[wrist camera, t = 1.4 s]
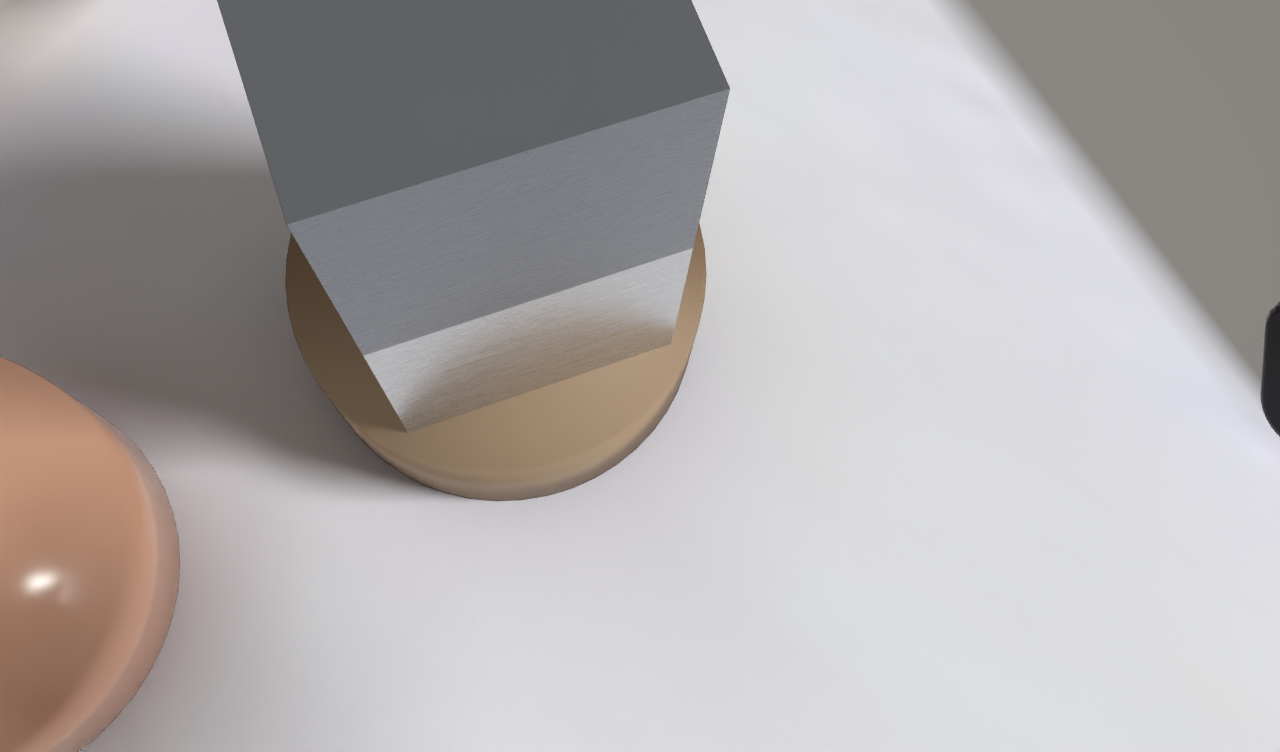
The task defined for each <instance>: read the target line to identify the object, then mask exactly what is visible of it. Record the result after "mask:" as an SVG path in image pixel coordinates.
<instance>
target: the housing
mask: <svg viewBox="0 0 1280 752" xmlns="http://www.w3.org/2000/svg"><path fill="white" fill-rule="evenodd" d="M217 1H218V5H219V8H220V11H221V14H222V17H223V21H224V24H225V27H226V30H227V34H228V37H229V40H230V43H231V46H232V50H233V53H234V56H235V59H236V63H237V66H238V69H239V72H240V75H241V79H242V82H243V85H244V88H245V92H246V95H247V98H248V101H249V104H250V108H251V111H252V114H253V117H254V120H255V124H256V127H257V130H258V133H259V137H260V140H261V143H262V146H263V149H264V153H265V156H266V159H267V162H268V166H269V169H270V172H271V175H272V178H273V182H274V185H275V188H276V191H277V195H278V198H279V201H280V204H281V207H282V211H283V214H284V217H285V220H286V224H287V226H288V227H289V229H290V231H291V233H292V234H293V236H294V238H295V240H296V241H297V243H298V245H299V246H300V248H301V250H302V252H303V253H304V255H305V257H306V258H307V260H308V262H309V264H310V265H311V267H312V269H313V270H314V272H315V274H316V276H317V277H318V279H319V281H320V282H321V284H322V286H323V288H324V289H325V291H326V293H327V294H328V296H329V298H330V300H331V301H332V303H333V305H334V306H335V308H336V310H337V312H338V313H339V315H340V317H341V319H342V320H343V322H344V324H345V325H346V327H347V329H348V331H349V332H350V334H351V336H352V337H353V339H354V341H355V343H356V344H357V346H358V348H359V349H360V351H361V353H362V355H363V356H364V358H365V360H366V361H367V363H368V365H369V367H370V368H371V370H372V372H373V373H374V375H375V377H376V379H377V380H378V382H379V384H380V385H381V387H382V389H383V391H384V392H385V394H386V396H387V398H388V399H389V401H390V403H391V404H392V406H393V408H394V410H395V411H396V413H397V415H398V416H399V418H400V420H401V422H402V423H403V425H404V427H405V428H406V430H407V432H408V433H409V432H412V431H415V430H418V429H421V428H424V427H427V426H430V425H433V424H436V423H439V422H442V421H445V420H448V419H451V418H454V417H457V416H460V415H463V414H465V413H468V412H471V411H474V410H477V409H480V408H483V407H486V406H489V405H492V404H495V403H498V402H501V401H504V400H507V399H510V398H513V397H516V396H519V395H522V394H525V393H527V392H530V391H533V390H536V389H539V388H542V387H545V386H548V385H551V384H554V383H557V382H560V381H563V380H566V379H569V378H572V377H575V376H578V375H581V374H584V373H587V372H590V371H592V370H595V369H598V368H601V367H604V366H607V365H610V364H613V363H616V362H619V361H622V360H625V359H628V358H631V357H634V356H637V355H640V354H643V353H646V352H649V351H652V350H654V349H657V348H660V347H663V346H666V345H669V344H671V342H672V337H673V333H674V329H675V324H676V320H677V316H678V311H679V307H680V303H681V298H682V294H683V290H684V285H685V281H686V277H687V272H688V268H689V264H690V259H691V255H692V251H693V246H694V242H695V238H696V233H697V229H698V225H699V220H700V216H701V212H702V207H703V203H704V199H705V194H706V190H707V186H708V181H709V177H710V173H711V168H712V164H713V160H714V155H715V151H716V147H717V143H718V138H719V134H720V130H721V125H722V121H723V117H724V112H725V108H726V104H727V99H728V95H729V91H730V87H729V85H728V83H727V81H726V78H725V76H724V74H723V72H722V69H721V67H720V65H719V62H718V60H717V58H716V56H715V53H714V51H713V49H712V46H711V44H710V42H709V40H708V37H707V35H706V33H705V30H704V28H703V26H702V24H701V21H700V19H699V17H698V15H697V12H696V10H695V8H694V5H693V3H692V1H691V0H217Z"/></svg>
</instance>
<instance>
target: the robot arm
mask: <svg viewBox="0 0 1280 752" xmlns="http://www.w3.org/2000/svg"><path fill="white" fill-rule="evenodd" d="M1263 348H1264V349H1263V364H1262V378H1261V404H1262V409H1263V412H1264V414H1265V416H1266V419H1267V420H1268V422H1269V424H1270V425H1271V427H1272V428H1273V430H1274V431H1275V432H1276V433H1277V434H1278V435H1279V436H1280V302H1279V303H1277V304H1276V305H1275V306H1274V307H1272V309H1271V310H1270V312H1269V314H1268V316H1267V318H1266V322H1265V332H1264V347H1263Z"/></svg>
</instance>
